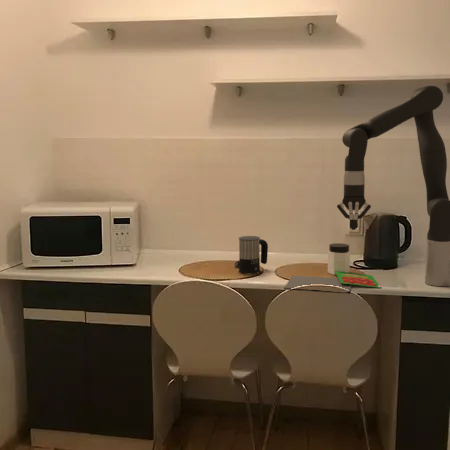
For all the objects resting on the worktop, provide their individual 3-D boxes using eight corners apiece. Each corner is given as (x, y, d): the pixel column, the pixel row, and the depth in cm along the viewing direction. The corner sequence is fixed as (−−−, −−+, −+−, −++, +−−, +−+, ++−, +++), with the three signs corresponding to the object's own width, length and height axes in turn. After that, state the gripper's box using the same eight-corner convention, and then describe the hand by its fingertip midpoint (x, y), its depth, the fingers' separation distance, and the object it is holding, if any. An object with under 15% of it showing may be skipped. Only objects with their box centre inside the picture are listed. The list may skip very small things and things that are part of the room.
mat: (352, 280, 232) (352, 279, 232) (349, 293, 213) (349, 291, 213) (292, 276, 238) (292, 275, 238) (284, 289, 219) (284, 287, 219)
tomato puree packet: (341, 281, 221) (334, 270, 240) (340, 284, 221) (334, 272, 241) (382, 286, 220) (372, 274, 240) (381, 289, 220) (371, 277, 240)
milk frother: (251, 275, 241) (252, 240, 239) (221, 270, 251) (221, 236, 249) (270, 269, 253) (271, 235, 250) (241, 264, 262) (241, 232, 260)
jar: (328, 275, 241) (328, 246, 240) (327, 270, 249) (327, 243, 248) (350, 275, 240) (351, 247, 238) (348, 271, 248) (349, 243, 246)
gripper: (372, 182, 219) (372, 228, 221) (336, 182, 222) (336, 227, 225) (372, 184, 211) (371, 231, 214) (335, 184, 215) (334, 230, 217)
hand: (353, 229), depth 219 cm, fingers closed
